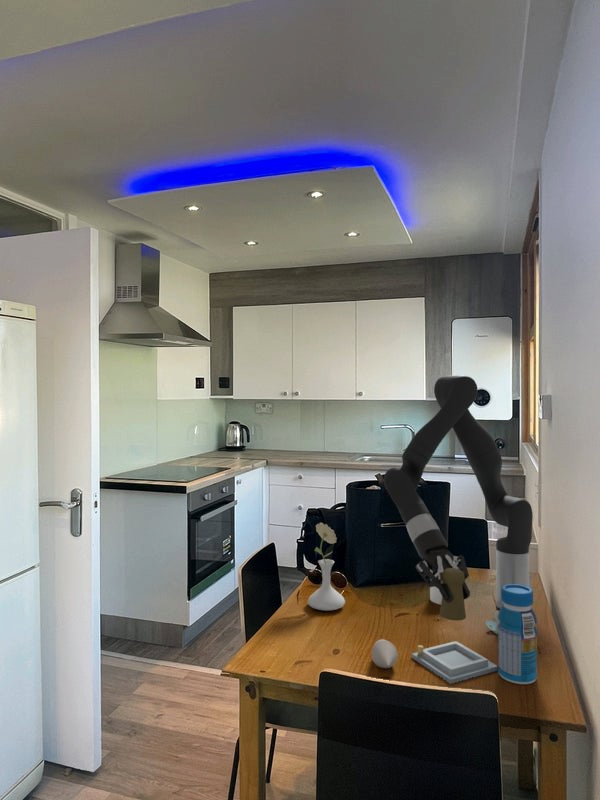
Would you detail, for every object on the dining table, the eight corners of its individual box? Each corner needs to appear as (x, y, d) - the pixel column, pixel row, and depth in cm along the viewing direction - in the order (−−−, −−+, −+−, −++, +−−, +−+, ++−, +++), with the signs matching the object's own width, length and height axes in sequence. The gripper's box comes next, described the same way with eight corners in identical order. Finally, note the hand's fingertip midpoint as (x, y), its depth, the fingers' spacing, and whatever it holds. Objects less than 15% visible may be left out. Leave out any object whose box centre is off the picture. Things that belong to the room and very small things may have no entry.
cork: (467, 621, 129) (467, 574, 129) (440, 619, 130) (440, 572, 130) (464, 611, 135) (465, 566, 135) (439, 609, 136) (439, 564, 136)
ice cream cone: (386, 686, 122) (380, 665, 137) (408, 668, 123) (399, 649, 138) (368, 663, 123) (364, 644, 138) (389, 645, 124) (383, 628, 138)
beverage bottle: (497, 682, 124) (496, 592, 124) (498, 665, 132) (497, 580, 132) (538, 688, 121) (538, 597, 121) (536, 671, 129) (536, 584, 129)
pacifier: (496, 626, 155) (483, 630, 152) (496, 603, 155) (483, 607, 152) (520, 635, 149) (506, 640, 146) (520, 611, 150) (507, 616, 146)
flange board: (456, 646, 142) (456, 634, 142) (497, 670, 130) (497, 657, 130) (411, 657, 136) (411, 645, 136) (450, 684, 124) (450, 670, 124)
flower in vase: (351, 611, 166) (351, 527, 166) (315, 616, 162) (315, 530, 162) (333, 596, 178) (333, 518, 178) (300, 601, 174) (300, 521, 174)
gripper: (409, 530, 136) (442, 596, 126) (455, 525, 143) (490, 587, 132) (396, 547, 141) (427, 611, 130) (441, 541, 147) (474, 601, 137)
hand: (458, 598), depth 131 cm, fingers closed on cork, 4 cm apart
